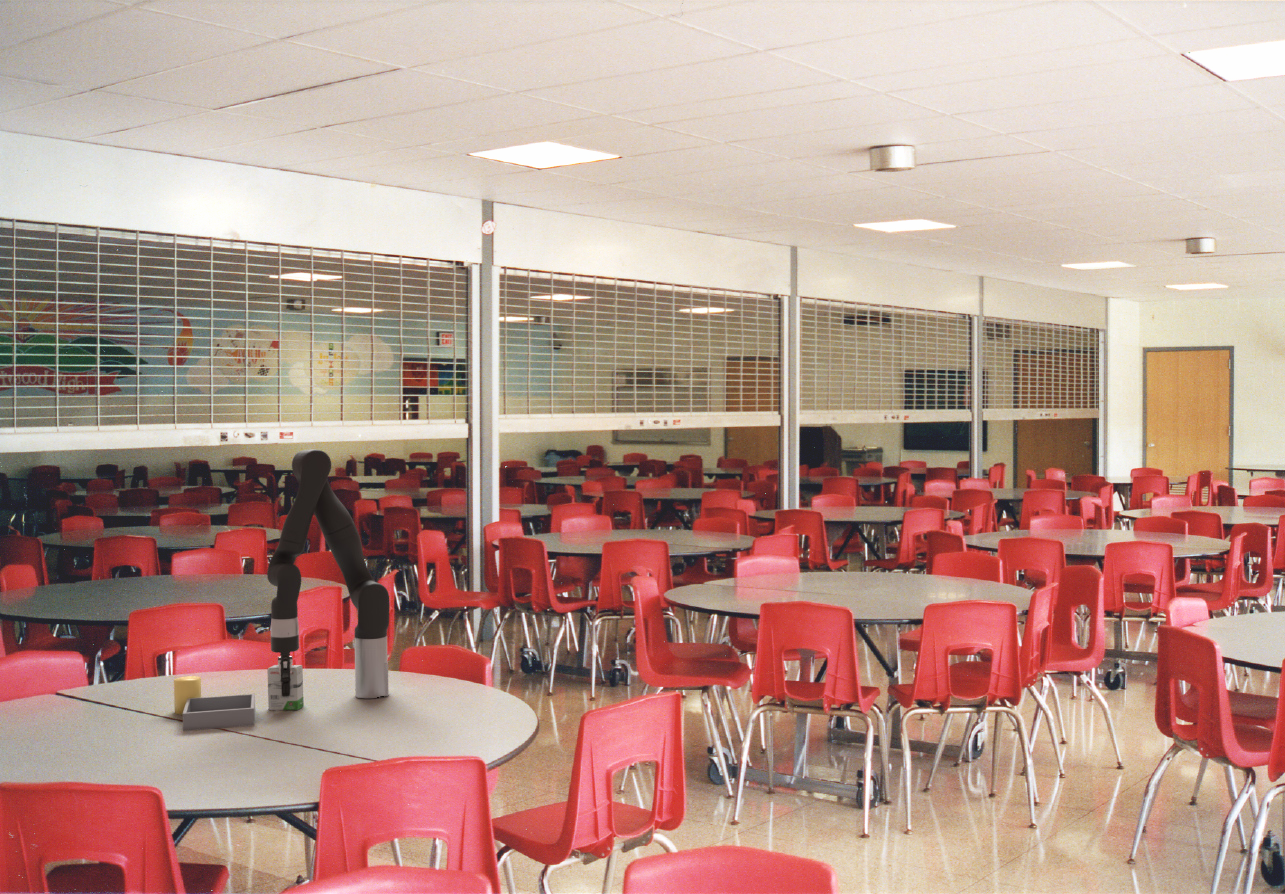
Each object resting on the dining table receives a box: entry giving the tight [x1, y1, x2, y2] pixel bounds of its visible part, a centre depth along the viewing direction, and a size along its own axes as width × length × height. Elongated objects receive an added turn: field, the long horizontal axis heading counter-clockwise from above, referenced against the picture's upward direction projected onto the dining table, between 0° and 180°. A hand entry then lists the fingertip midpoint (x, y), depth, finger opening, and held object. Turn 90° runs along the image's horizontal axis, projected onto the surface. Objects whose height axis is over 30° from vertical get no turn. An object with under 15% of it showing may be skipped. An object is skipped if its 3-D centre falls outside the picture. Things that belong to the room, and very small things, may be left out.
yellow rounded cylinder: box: [173, 675, 202, 715], centre depth 337 cm, size 7×7×9 cm
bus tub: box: [182, 693, 256, 732], centre depth 327 cm, size 18×18×4 cm
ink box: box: [267, 664, 305, 711], centre depth 339 cm, size 9×5×12 cm, turn 85°
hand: (285, 693), depth 339 cm, fingers closed on ink box, 6 cm apart
